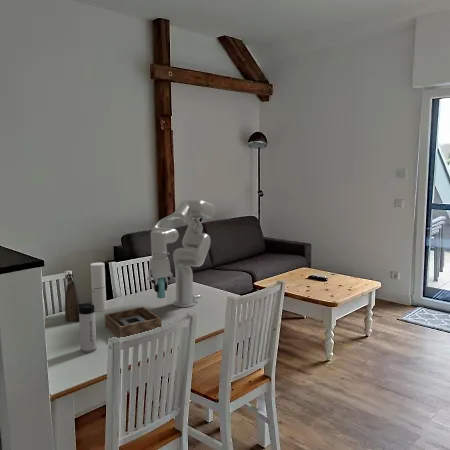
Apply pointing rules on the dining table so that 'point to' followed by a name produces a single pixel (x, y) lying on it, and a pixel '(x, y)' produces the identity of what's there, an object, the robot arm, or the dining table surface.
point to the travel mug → (87, 327)
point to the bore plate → (130, 320)
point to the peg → (161, 288)
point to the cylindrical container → (98, 286)
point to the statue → (71, 301)
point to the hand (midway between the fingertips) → (160, 290)
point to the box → (131, 329)
